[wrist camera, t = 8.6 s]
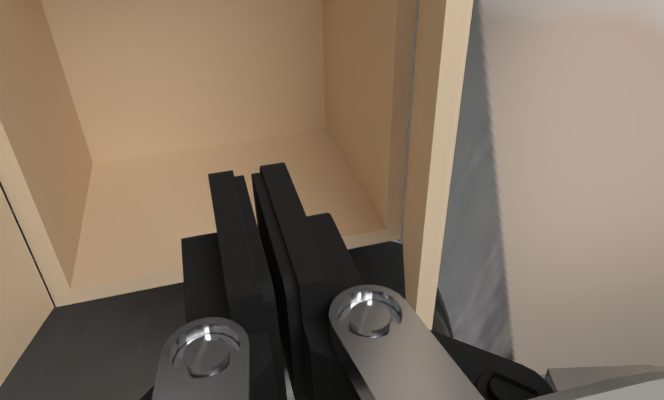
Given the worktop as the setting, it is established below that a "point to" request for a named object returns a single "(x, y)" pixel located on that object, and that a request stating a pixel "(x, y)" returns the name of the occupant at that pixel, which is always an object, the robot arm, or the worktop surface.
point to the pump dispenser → (394, 276)
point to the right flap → (432, 144)
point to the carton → (194, 124)
